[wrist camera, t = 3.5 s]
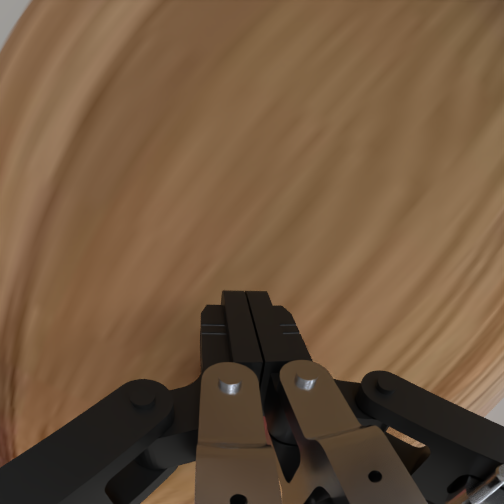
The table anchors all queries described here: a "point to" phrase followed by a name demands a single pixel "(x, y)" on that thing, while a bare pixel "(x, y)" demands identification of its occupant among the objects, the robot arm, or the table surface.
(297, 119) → the table surface
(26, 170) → the table surface
